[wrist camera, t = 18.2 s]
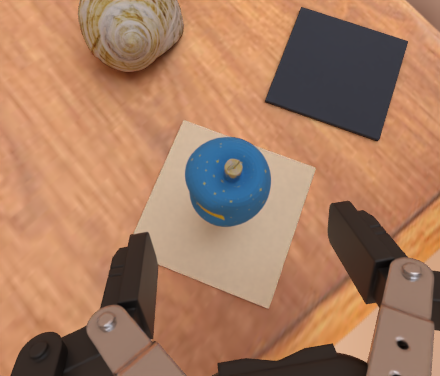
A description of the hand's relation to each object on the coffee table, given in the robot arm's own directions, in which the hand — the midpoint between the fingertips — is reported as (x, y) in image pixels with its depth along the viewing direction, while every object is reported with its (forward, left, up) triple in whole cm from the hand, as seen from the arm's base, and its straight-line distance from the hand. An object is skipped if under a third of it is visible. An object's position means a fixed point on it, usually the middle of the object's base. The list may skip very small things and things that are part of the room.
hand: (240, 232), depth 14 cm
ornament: (+2, -3, -16) cm, 16 cm away
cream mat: (+2, -3, -16) cm, 17 cm away
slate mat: (-4, -21, -16) cm, 27 cm away
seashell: (+17, -17, -16) cm, 29 cm away
